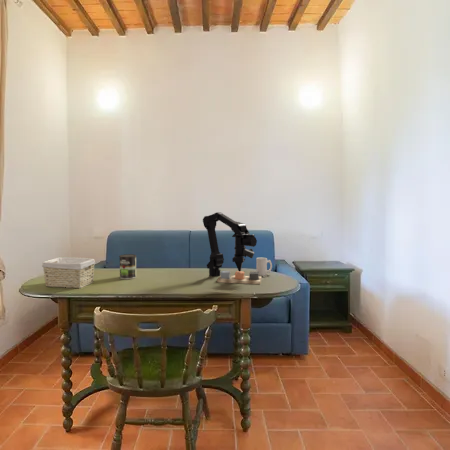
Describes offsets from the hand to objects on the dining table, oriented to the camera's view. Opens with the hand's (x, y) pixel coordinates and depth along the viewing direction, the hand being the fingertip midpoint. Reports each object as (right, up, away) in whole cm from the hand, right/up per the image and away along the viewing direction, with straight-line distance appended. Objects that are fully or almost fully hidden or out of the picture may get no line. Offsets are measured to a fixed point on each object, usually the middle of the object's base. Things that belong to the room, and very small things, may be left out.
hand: (239, 271), depth 191 cm
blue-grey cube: (-8, -5, +2) cm, 10 cm away
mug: (+16, -6, +16) cm, 24 cm away
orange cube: (0, -6, 0) cm, 6 cm away
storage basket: (-98, -8, -3) cm, 99 cm away
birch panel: (0, -7, +1) cm, 7 cm away
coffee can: (-70, -6, +14) cm, 72 cm away
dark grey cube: (+8, -6, -1) cm, 10 cm away
